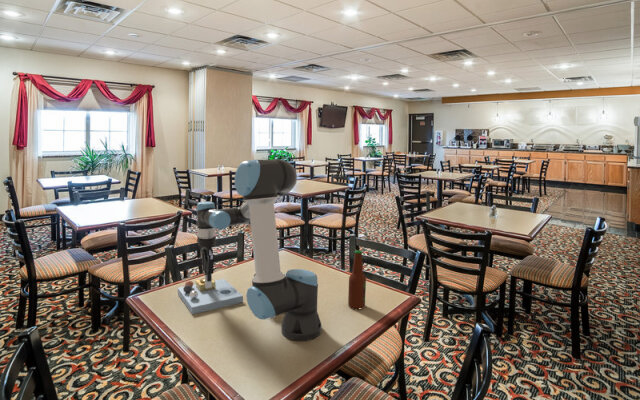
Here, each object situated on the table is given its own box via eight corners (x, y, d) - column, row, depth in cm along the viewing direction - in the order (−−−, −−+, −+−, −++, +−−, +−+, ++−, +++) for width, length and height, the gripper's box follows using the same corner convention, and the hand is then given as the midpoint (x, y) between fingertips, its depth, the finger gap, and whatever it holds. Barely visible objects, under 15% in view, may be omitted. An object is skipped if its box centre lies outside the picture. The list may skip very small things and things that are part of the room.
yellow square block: (215, 288, 170) (215, 280, 170) (200, 291, 166) (199, 283, 166) (210, 283, 176) (210, 276, 175) (195, 286, 172) (195, 278, 172)
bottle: (368, 308, 160) (370, 252, 156) (354, 311, 156) (356, 254, 152) (358, 301, 166) (360, 247, 162) (344, 305, 162) (346, 250, 158)
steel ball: (199, 299, 158) (198, 291, 158) (190, 301, 156) (190, 293, 156) (196, 296, 161) (196, 288, 161) (188, 298, 159) (188, 290, 159)
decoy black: (192, 293, 165) (192, 285, 164) (184, 294, 163) (184, 287, 162) (190, 290, 168) (190, 283, 167) (182, 292, 166) (182, 284, 165)
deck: (243, 302, 163) (242, 295, 163) (192, 314, 151) (191, 307, 151) (224, 284, 183) (224, 278, 182) (177, 294, 171) (177, 287, 170)
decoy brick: (194, 288, 170) (194, 281, 169) (186, 290, 168) (186, 282, 167) (192, 285, 173) (191, 278, 172) (184, 287, 171) (184, 280, 170)
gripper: (220, 238, 161) (221, 290, 164) (210, 232, 171) (212, 281, 175) (202, 241, 156) (204, 294, 160) (194, 234, 167) (196, 284, 171)
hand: (208, 287), depth 167 cm, fingers closed
